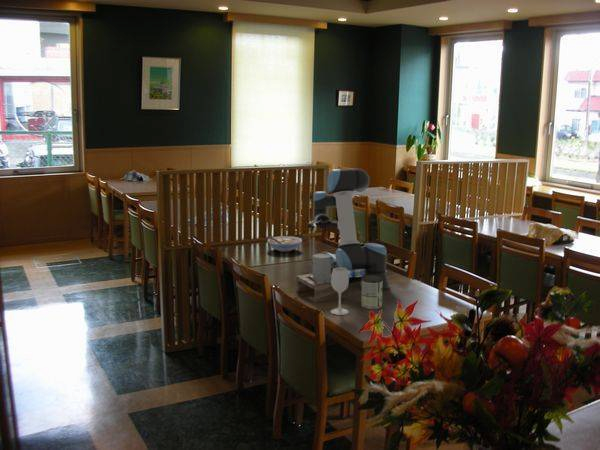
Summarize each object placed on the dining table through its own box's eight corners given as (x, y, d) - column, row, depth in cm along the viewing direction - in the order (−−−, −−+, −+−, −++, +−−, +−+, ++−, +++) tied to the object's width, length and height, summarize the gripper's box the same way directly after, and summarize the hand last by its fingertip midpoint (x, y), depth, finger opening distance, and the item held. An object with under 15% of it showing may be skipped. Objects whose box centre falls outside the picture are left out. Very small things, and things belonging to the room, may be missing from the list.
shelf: (347, 297, 320) (347, 282, 319) (316, 302, 312) (316, 286, 311) (326, 286, 339) (326, 271, 338) (296, 290, 332) (296, 275, 330)
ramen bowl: (308, 253, 410) (308, 241, 408) (274, 256, 402) (274, 244, 400) (294, 245, 433) (294, 233, 431) (262, 248, 424) (262, 236, 423)
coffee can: (359, 302, 313) (360, 274, 310) (380, 302, 313) (381, 274, 310) (362, 309, 303) (362, 280, 300) (383, 308, 303) (384, 280, 300)
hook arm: (334, 285, 319) (334, 281, 319) (323, 287, 317) (323, 283, 316) (319, 278, 333) (319, 274, 332) (309, 279, 330) (309, 276, 330)
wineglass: (337, 308, 304) (338, 265, 300) (352, 311, 299) (353, 268, 294) (326, 312, 297) (327, 269, 293) (341, 316, 292) (342, 272, 288)
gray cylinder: (329, 282, 319) (329, 258, 316) (310, 280, 321) (310, 257, 318) (332, 276, 328) (332, 253, 326) (314, 275, 330) (314, 252, 327)
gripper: (343, 226, 368) (350, 234, 347) (301, 227, 365) (305, 235, 345) (343, 214, 367) (350, 220, 346) (301, 215, 364) (305, 221, 343)
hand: (328, 228), depth 345 cm, fingers open, 13 cm apart
